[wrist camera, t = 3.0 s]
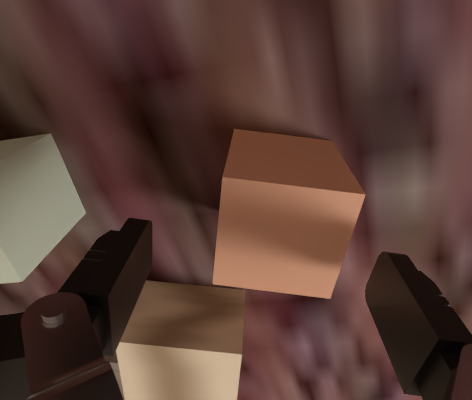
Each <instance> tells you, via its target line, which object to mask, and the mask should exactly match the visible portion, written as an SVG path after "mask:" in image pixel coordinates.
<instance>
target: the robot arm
mask: <svg viewBox="0 0 472 400" xmlns="http://www.w3.org/2000/svg"><path fill="white" fill-rule="evenodd" d="M151 263H152V222H151V221H150V220H142V219H134V218H128V219H127V221H126V222H125V224H124V225H123V227H122V228H121V230H120V231H113V230H110V231H109V232H107V233H106V234H104V235H102V236H101V237H99V238H98V239H97V240H96V242H95V243H94V244H93V246H92V247H91V248H90V251H88V252H87V254H86V255H85V256H84V259H82V260H81V262H80V263H79V264H78V266H77V267H76V269H75V270H74V271H73V273H72V274H71V275H70V277H69V278H68V279H67V281H66V282H65V283H64V285H63V286H62V287H61V289H60V290H59V291H58V293H54V294H50V295H47V296H44V297H42V298H40V299H38V300H37V301H35V302H34V303H32V304H31V305H30V306H29V307H28V308H27V309H26V310H25V312H22V313H17V314H9V315H1V316H0V400H124V399H123V396H122V394H121V391H120V388H119V385H118V383H117V380H116V377H115V374H114V372H113V369H112V366H111V364H110V362H109V361H105V358H104V356H103V355H105V356H114V354H115V352H116V349H117V347H118V345H119V342H120V340H121V338H122V335H123V333H124V331H125V328H126V326H127V324H128V321H129V319H130V317H131V314H132V312H133V310H134V307H135V305H136V303H137V300H138V298H139V296H140V293H141V291H142V289H143V286H144V284H145V282H146V279H147V277H148V275H149V272H150V268H151ZM365 298H366V302H367V305H368V307H369V310H370V312H371V315H372V317H373V319H374V322H375V324H376V327H377V329H378V332H379V334H380V336H381V339H382V341H383V344H384V346H385V348H386V351H387V353H388V356H389V358H390V360H391V363H392V365H393V368H394V370H395V373H396V375H397V377H398V380H399V382H400V385H401V387H402V389H403V392H404V394H410V395H418V396H422V398H423V400H472V334H471V333H470V332H469V330H468V329H467V328H466V326H465V325H464V323H463V322H462V321H461V319H460V318H459V316H458V315H457V314H456V312H455V311H454V309H453V308H451V307H450V304H449V302H448V301H447V300H446V298H445V297H443V294H442V293H441V291H440V290H439V288H438V287H437V286H436V284H435V283H434V282H433V281H432V280H431V279H430V278H428V277H427V276H426V275H425V274H424V273H422V272H421V271H418V270H417V269H416V267H415V266H414V264H413V263H412V261H411V260H410V258H409V257H408V256H407V255H405V254H397V253H390V252H382V253H381V254H380V255H379V257H378V259H377V261H376V264H375V266H374V268H373V271H372V273H371V275H370V278H369V280H368V282H367V285H366V290H365Z"/></svg>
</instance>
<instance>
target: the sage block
mask: <svg viewBox="0 0 472 400" xmlns="http://www.w3.org/2000/svg"><path fill="white" fill-rule="evenodd" d="M85 214H86V212H85V210H84V208H83V205H82V203H81V201H80V198H79V196H78V194H77V192H76V189H75V187H74V185H73V182H72V180H71V178H70V176H69V173H68V171H67V169H66V166H65V164H64V162H63V160H62V157H61V155H60V153H59V150H58V148H57V146H56V144H55V141H54V139H53V137H52V134H51V133H50V134H43V135H36V136H30V137H23V138H16V139H10V140H3V141H0V284H1V283H13V282H22V281H23V280H24V279H25V278H26V277H27V276H28V275H29V274H30V273H31V272H32V271H33V270H34V268H35V267H36V266H37V265H38V264H39V263H40V262H41V261H42V260H43V259H44V258H45V257H46V256H47V254H48V253H49V252H50V251H51V250H52V249H53V248H54V247H55V246H56V245H57V244H58V243H59V242H60V241H61V239H62V238H63V237H64V236H65V235H66V234H67V233H68V232H69V231H70V230H71V229H72V228H73V227H74V225H75V224H76V223H77V222H78V221H79V220H80V219H81V218H82V217H83V216H84V215H85Z"/></svg>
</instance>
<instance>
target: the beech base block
mask: <svg viewBox="0 0 472 400" xmlns="http://www.w3.org/2000/svg"><path fill="white" fill-rule="evenodd" d="M244 307H245V290H242V289H231V288H221V287H210V286H200V285H189V284H179V283H168V282H158V281H147V280H146V282H145V284H144V286H143V289H142V291H141V293H140V296H139V298H138V300H137V303H136V305H135V307H134V310H133V312H132V314H131V317H130V319H129V321H128V324H127V326H126V328H125V331H124V333H123V335H122V338H121V340H120V342H119V345H118V347H117V349H116V354H117V359H118V365H119V370H120V376H121V381H122V387H123V393H124V398H125V400H237V393H238V384H239V375H240V367H241V358H242V343H243V325H244Z"/></svg>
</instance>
